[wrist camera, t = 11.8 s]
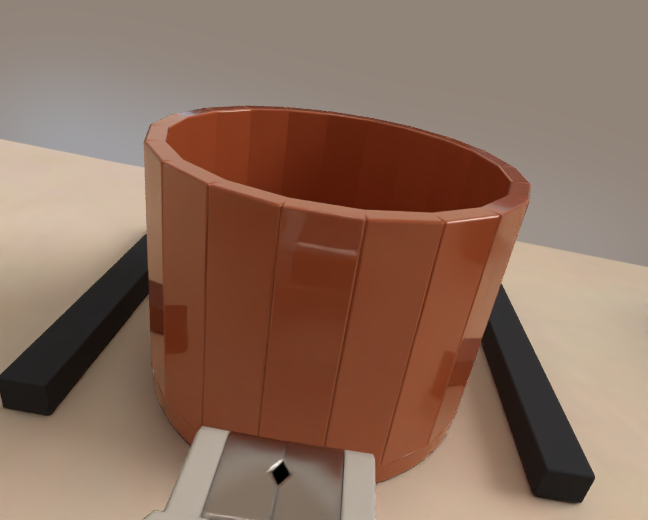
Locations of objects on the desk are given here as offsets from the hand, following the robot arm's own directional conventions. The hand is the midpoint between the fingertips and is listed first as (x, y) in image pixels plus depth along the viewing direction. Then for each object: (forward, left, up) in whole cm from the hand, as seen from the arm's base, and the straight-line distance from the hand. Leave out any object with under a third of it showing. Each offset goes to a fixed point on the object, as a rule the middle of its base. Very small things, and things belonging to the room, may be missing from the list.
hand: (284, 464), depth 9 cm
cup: (-6, +7, -5) cm, 11 cm away
